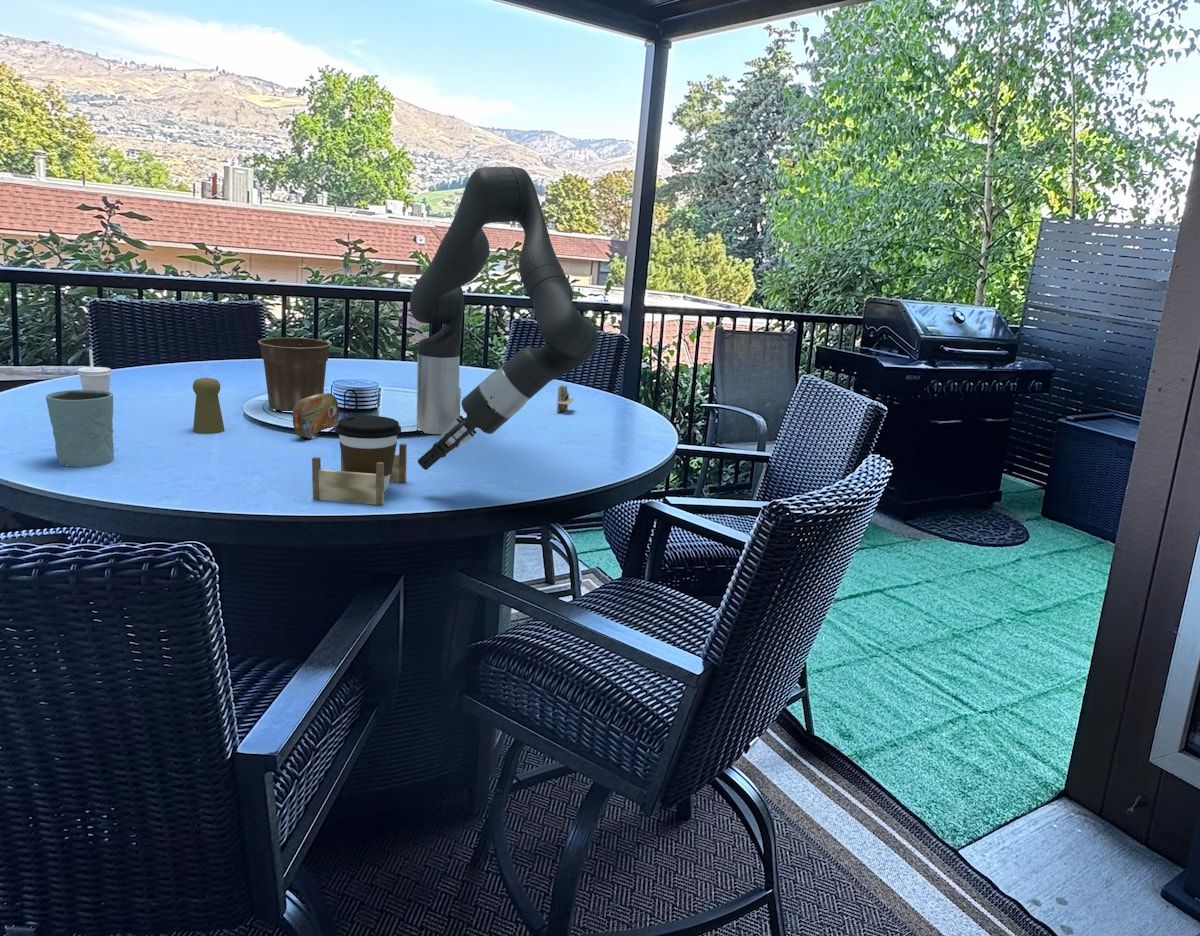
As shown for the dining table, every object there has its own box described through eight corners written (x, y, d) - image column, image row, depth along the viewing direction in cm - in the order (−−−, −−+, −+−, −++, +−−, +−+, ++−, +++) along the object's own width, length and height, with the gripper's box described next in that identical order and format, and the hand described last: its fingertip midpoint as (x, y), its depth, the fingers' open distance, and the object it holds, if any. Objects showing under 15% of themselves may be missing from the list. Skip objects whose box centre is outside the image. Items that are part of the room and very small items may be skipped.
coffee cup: (321, 492, 142) (320, 422, 139) (361, 477, 152) (361, 412, 149) (376, 503, 139) (376, 432, 136) (413, 487, 149) (414, 420, 145)
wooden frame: (406, 481, 152) (406, 443, 150) (382, 505, 138) (382, 464, 136) (343, 476, 152) (342, 438, 150) (312, 499, 138) (312, 458, 136)
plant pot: (340, 414, 201) (340, 346, 197) (270, 417, 192) (267, 347, 188) (320, 401, 214) (319, 337, 210) (253, 404, 205) (250, 337, 201)
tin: (304, 442, 173) (303, 402, 171) (290, 440, 174) (289, 400, 172) (340, 428, 187) (340, 390, 185) (327, 426, 188) (326, 389, 186)
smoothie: (74, 413, 183) (68, 348, 179) (101, 408, 189) (95, 346, 185) (95, 417, 181) (89, 352, 177) (121, 412, 187) (116, 349, 183)
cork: (231, 430, 179) (228, 378, 176) (207, 435, 173) (204, 382, 170) (210, 425, 181) (207, 375, 178) (186, 430, 176) (183, 378, 173)
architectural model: (573, 412, 225) (574, 384, 223) (568, 417, 218) (570, 388, 216) (560, 411, 225) (562, 383, 223) (555, 416, 219) (557, 387, 217)
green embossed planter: (71, 471, 144) (64, 402, 140) (40, 460, 149) (33, 393, 145) (130, 460, 152) (125, 395, 149) (99, 450, 157) (93, 386, 154)
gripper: (488, 376, 145) (416, 439, 149) (473, 389, 133) (395, 458, 136) (517, 409, 147) (446, 471, 150) (505, 425, 134) (427, 492, 137)
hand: (422, 465), depth 143 cm, fingers closed
